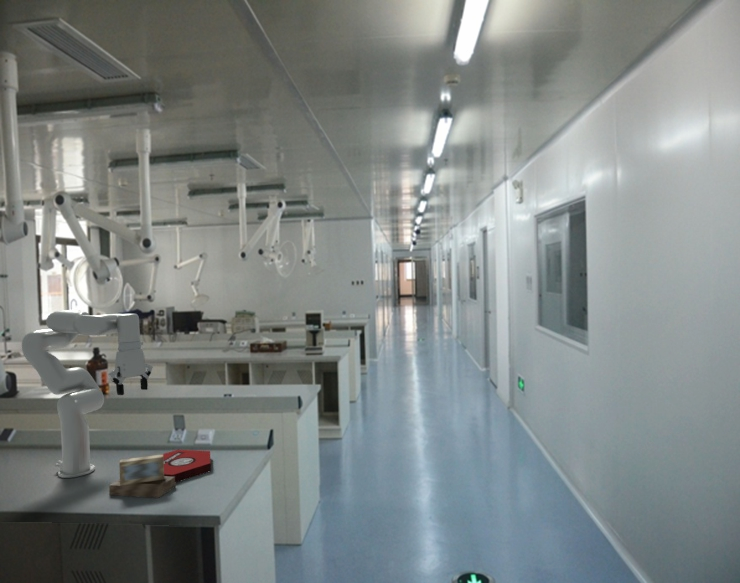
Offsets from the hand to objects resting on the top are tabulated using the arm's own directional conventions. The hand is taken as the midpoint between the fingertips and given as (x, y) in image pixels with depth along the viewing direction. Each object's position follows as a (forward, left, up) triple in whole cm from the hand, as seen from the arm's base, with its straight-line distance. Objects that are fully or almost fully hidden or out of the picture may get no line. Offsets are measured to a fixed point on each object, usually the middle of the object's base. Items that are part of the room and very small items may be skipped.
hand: (132, 392), depth 193 cm
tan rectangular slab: (+10, -10, -29) cm, 32 cm away
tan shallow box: (+10, -10, -33) cm, 36 cm away
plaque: (+10, +11, -34) cm, 37 cm away
